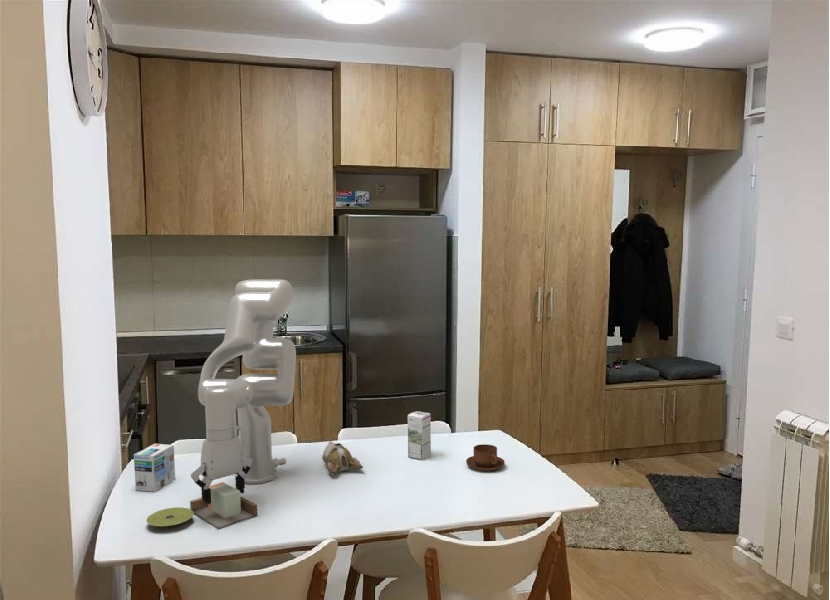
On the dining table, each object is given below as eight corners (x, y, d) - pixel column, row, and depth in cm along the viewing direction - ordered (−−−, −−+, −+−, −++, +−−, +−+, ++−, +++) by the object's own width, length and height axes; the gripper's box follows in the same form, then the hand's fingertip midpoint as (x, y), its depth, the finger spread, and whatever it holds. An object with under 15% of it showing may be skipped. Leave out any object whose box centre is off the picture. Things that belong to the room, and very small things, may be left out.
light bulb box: (155, 492, 187) (153, 455, 186) (134, 491, 188) (132, 454, 187) (176, 479, 198) (174, 444, 197) (156, 477, 199) (154, 443, 198)
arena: (228, 500, 181) (227, 489, 181) (257, 515, 170) (257, 504, 170) (190, 512, 173) (190, 501, 173) (218, 529, 163) (218, 517, 162)
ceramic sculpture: (345, 433, 212) (365, 448, 199) (345, 459, 214) (365, 475, 201) (314, 439, 207) (332, 455, 194) (314, 465, 208) (332, 482, 195)
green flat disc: (198, 513, 173) (197, 505, 172) (188, 531, 161) (188, 524, 161) (153, 515, 171) (153, 508, 171) (141, 534, 160) (140, 527, 160)
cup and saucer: (512, 466, 206) (512, 447, 205) (489, 476, 197) (489, 456, 197) (481, 458, 214) (481, 439, 213) (458, 467, 205) (458, 448, 205)
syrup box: (431, 455, 216) (431, 412, 215) (422, 460, 211) (421, 416, 210) (417, 452, 219) (416, 410, 218) (407, 457, 214) (406, 414, 213)
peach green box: (240, 513, 171) (240, 490, 170) (225, 518, 168) (224, 495, 167) (223, 503, 177) (222, 482, 177) (208, 508, 174) (207, 486, 174)
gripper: (243, 423, 179) (245, 484, 181) (183, 437, 167) (185, 502, 169) (258, 429, 174) (260, 491, 176) (196, 443, 162) (199, 511, 163)
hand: (223, 497), depth 172 cm, fingers open, 9 cm apart
